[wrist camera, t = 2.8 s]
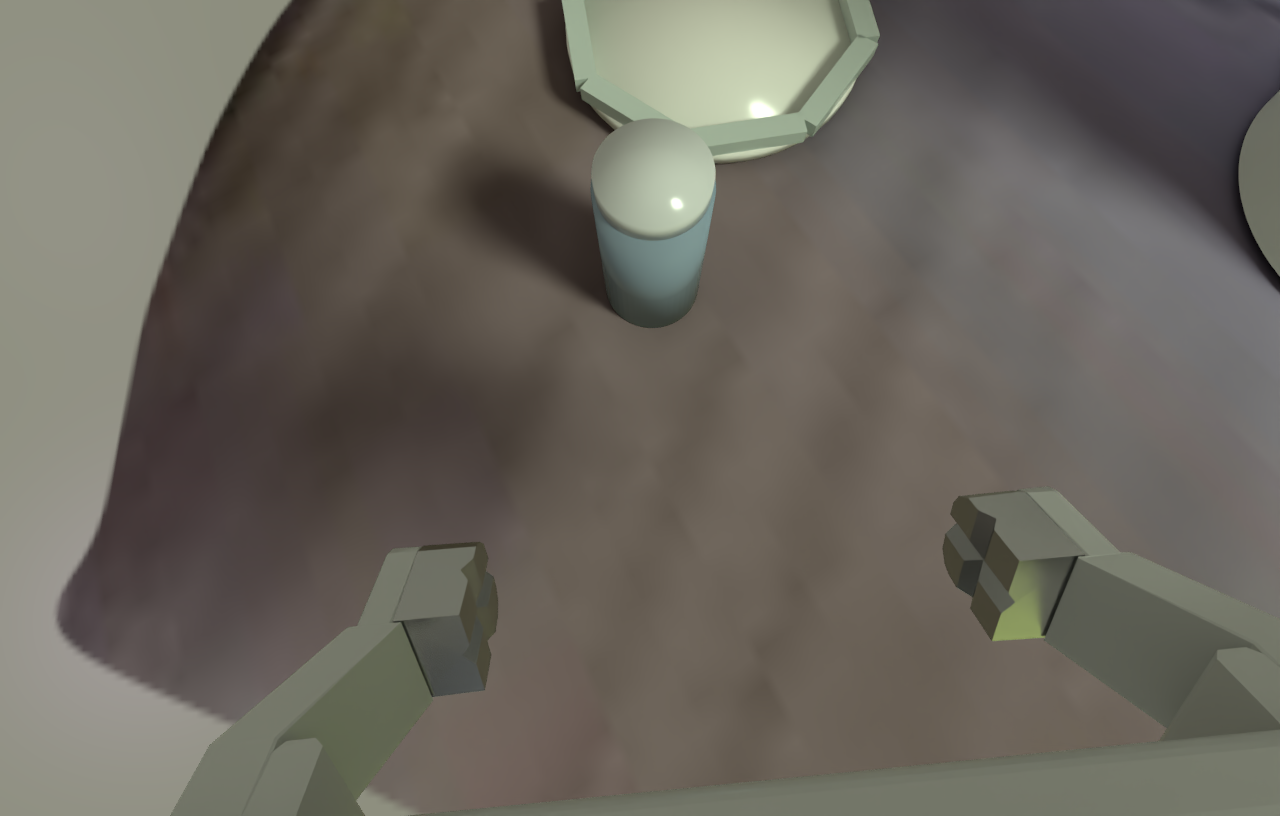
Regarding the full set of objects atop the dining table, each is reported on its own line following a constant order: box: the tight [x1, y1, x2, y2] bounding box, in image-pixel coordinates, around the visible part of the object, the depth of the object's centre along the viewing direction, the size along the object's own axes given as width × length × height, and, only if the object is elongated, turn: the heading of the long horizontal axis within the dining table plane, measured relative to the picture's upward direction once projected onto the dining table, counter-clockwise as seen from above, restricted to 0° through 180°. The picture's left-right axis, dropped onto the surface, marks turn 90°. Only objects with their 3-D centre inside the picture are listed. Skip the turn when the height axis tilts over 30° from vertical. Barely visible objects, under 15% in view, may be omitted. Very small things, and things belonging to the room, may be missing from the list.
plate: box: [562, 0, 880, 164], centre depth 29 cm, size 14×14×2 cm
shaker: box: [591, 118, 716, 328], centre depth 23 cm, size 4×4×8 cm
